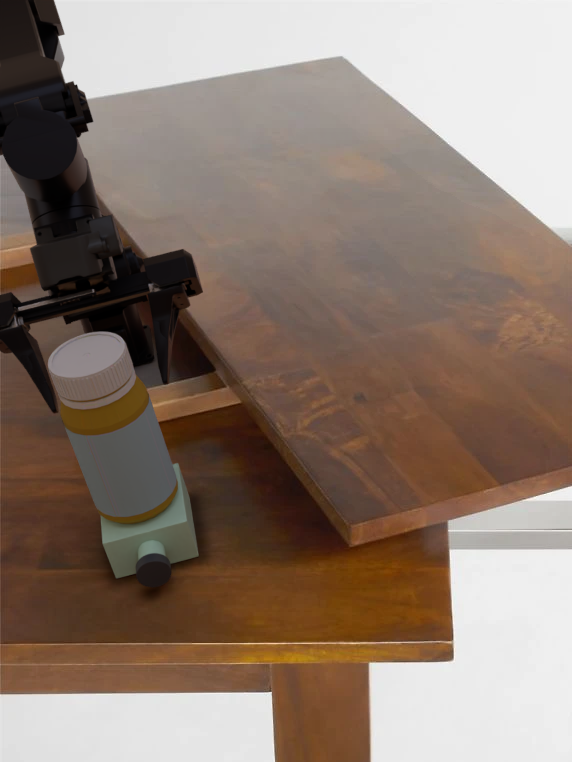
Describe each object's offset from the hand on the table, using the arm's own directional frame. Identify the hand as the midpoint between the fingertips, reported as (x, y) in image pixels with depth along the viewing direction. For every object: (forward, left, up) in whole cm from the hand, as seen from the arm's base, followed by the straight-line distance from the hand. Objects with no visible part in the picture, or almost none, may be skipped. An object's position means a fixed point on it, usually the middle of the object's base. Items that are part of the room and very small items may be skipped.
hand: (110, 398), depth 113 cm
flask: (+5, 0, -12) cm, 13 cm away
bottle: (+3, 0, -9) cm, 9 cm away
